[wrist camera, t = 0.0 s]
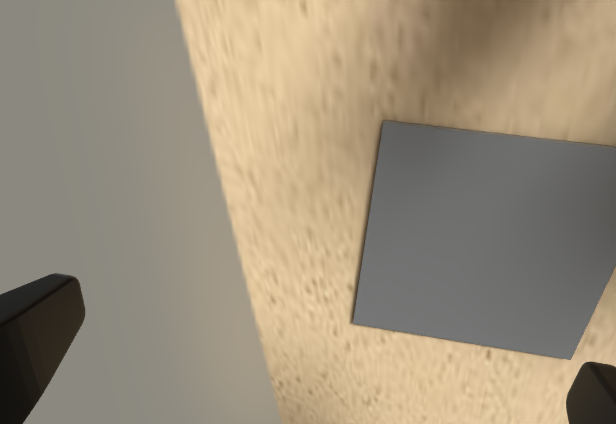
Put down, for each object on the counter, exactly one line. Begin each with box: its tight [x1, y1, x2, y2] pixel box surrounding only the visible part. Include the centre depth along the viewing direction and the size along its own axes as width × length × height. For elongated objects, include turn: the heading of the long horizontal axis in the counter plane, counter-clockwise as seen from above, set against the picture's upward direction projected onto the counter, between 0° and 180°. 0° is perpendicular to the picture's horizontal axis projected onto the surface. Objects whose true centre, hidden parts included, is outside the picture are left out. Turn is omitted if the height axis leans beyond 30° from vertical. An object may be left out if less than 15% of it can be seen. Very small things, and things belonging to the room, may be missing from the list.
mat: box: [353, 120, 616, 360], centre depth 23 cm, size 12×12×1 cm
